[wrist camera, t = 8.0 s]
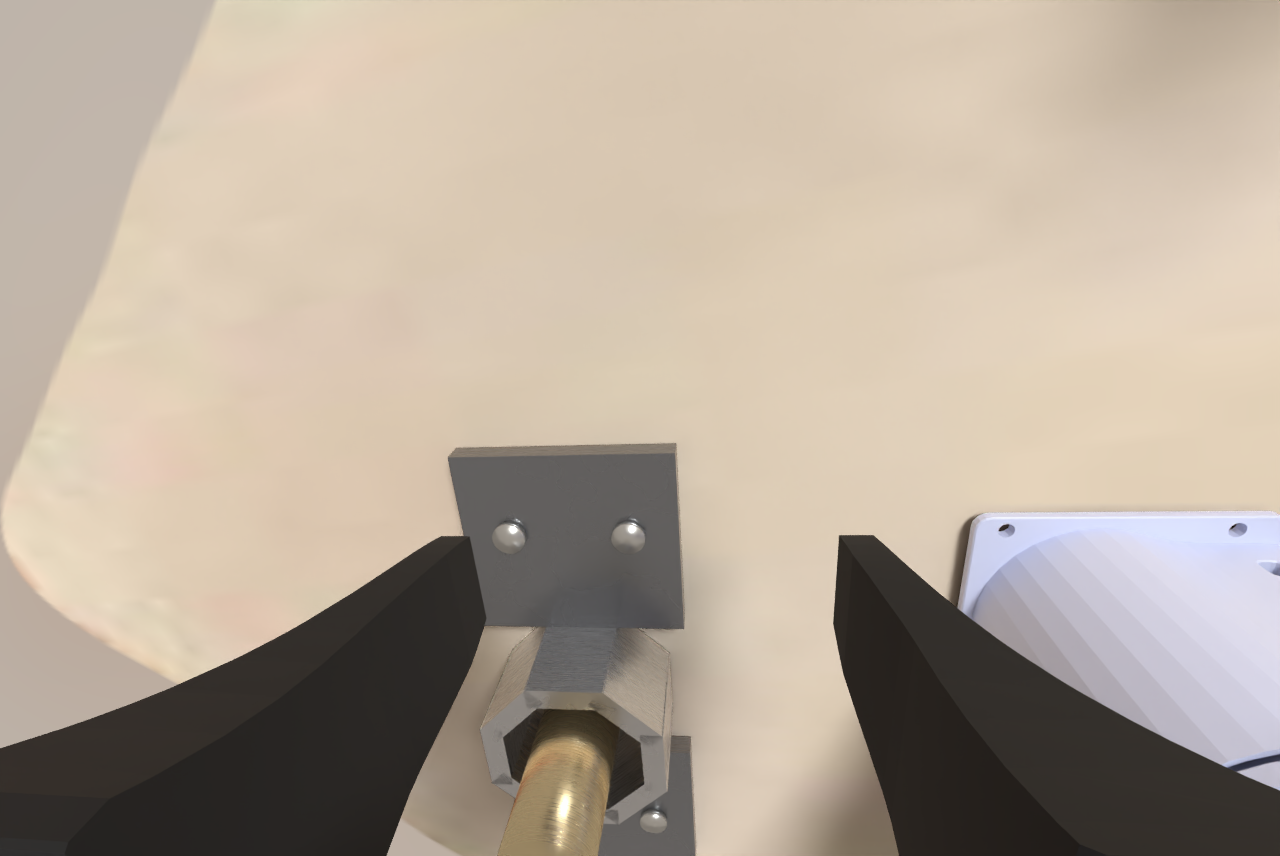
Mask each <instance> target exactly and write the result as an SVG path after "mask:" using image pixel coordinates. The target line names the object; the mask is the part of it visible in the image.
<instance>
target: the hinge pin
mask: <svg viewBox="0 0 1280 856" xmlns="http://www.w3.org/2000/svg"><path fill="white" fill-rule="evenodd" d="M619 729H620V728H619V727H618V726H616V725H615V724H614V723H612V722H611V721H609V720H608V719H607V718H605V717H604V716H602V715H601V714H600V713H598V712H597V711H596V710H568V709H544V711H543V714H542V717H541V720H540V723H539V726H538V729H537V733H536V736H535V739H534V742H533V745H532V748H531V751H530V754H529V758H528V761H527V764H526V767H525V770H524V773H523V776H522V780H521V783H520V786H519V789H518V792H517V795H516V798H515V801H514V805H513V808H512V811H511V814H510V817H509V820H508V823H507V827H506V830H505V833H504V836H503V839H502V842H501V845H500V848H499V852H498V855H497V856H598V852H599V846H600V840H601V834H602V828H603V822H604V816H605V811H606V805H607V799H608V793H609V787H610V781H611V776H612V770H613V764H614V758H615V752H616V746H617V740H618V735H619Z"/></svg>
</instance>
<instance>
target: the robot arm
mask: <svg viewBox="0 0 1280 856" xmlns="http://www.w3.org/2000/svg"><path fill="white" fill-rule="evenodd" d="M1005 524H1010V525H1009V527H1008V528H1007V529H1006V530H1004V531H998V530H999V528H1000V527H1001V526H1003V525H1005ZM1235 524H1236V526H1235V527H1234V528H1232V529H1231V530H1229V529H1230V528H1231V526H1233V525H1235ZM486 619H487V618H486V613H485V608H484V603H483V599H482V594H481V589H480V584H479V579H478V574H477V569H476V565H475V560H474V555H473V550H472V545H471V540H470V536H441V537H439V538H437V539H435V540H433V541H432V542H430V543H428V544H427V545H425V546H423V547H422V548H420V549H419V550H417V551H415V552H414V553H412V554H411V555H409V556H408V557H406V558H405V559H403V560H402V561H400V562H399V563H397V564H396V565H394V566H393V567H391V568H390V569H388V570H387V571H385V572H384V573H382V574H381V575H379V576H378V577H376V578H375V579H373V580H372V581H370V582H369V583H367V584H365V585H364V586H362V587H361V588H359V589H358V590H356V591H355V592H353V593H352V594H350V595H348V596H347V597H345V598H343V599H342V600H340V601H339V602H337V603H335V604H334V605H332V606H330V607H329V608H327V609H325V610H324V611H322V612H321V613H319V614H317V615H316V616H314V617H312V618H311V619H309V620H308V621H306V622H304V623H302V624H301V625H299V626H297V627H295V628H294V629H292V630H290V631H288V632H286V633H285V634H283V635H281V636H279V637H277V638H275V639H274V640H272V641H270V642H268V643H266V644H264V645H262V646H260V647H258V648H256V649H254V650H252V651H250V652H248V653H246V654H244V655H242V656H240V657H238V658H236V659H234V660H232V661H230V662H228V663H225V664H223V665H221V666H219V667H217V668H214V669H212V670H210V671H208V672H205V673H203V674H201V675H199V676H196V677H194V678H192V679H190V680H188V681H185V682H183V683H181V684H179V685H176V686H174V687H172V688H170V689H167V690H165V691H162V692H160V693H157V694H155V695H152V696H150V697H148V698H145V699H142V700H140V701H137V702H135V703H132V704H130V705H127V706H124V707H122V708H119V709H116V710H113V711H111V712H108V713H105V714H103V715H100V716H97V717H94V718H92V719H89V720H86V721H84V722H81V723H77V724H75V725H72V726H69V727H66V728H63V729H60V730H57V731H53V732H50V733H48V734H44V735H41V736H38V737H35V738H32V739H28V740H25V741H22V742H19V743H16V744H13V745H10V746H7V747H3V748H0V856H386V855H387V853H388V850H389V847H390V845H391V842H392V839H393V837H394V834H395V831H396V828H397V826H398V823H399V821H400V818H401V815H402V813H403V810H404V807H405V805H406V802H407V799H408V797H409V794H410V792H411V790H412V788H413V785H414V783H415V781H416V779H417V776H418V774H419V772H420V770H421V768H422V766H423V763H424V761H425V759H426V757H427V755H428V753H429V751H430V749H431V747H432V745H433V743H434V741H435V739H436V737H437V735H438V733H439V731H440V729H441V727H442V725H443V723H444V721H445V719H446V717H447V715H448V713H449V711H450V709H451V706H452V704H453V702H454V700H455V698H456V696H457V694H458V692H459V690H460V688H461V686H462V684H463V682H464V679H465V677H466V675H467V673H468V671H469V669H470V667H471V664H472V662H473V659H474V656H475V653H476V650H477V647H478V644H479V641H480V638H481V635H482V632H483V628H484V625H485V622H486ZM833 624H834V630H835V635H836V640H837V645H838V650H839V655H840V660H841V665H842V669H843V674H844V677H845V680H846V683H847V686H848V690H849V693H850V696H851V699H852V702H853V705H854V708H855V711H856V714H857V717H858V720H859V723H860V726H861V729H862V732H863V735H864V738H865V741H866V744H867V746H868V749H869V752H870V755H871V758H872V761H873V764H874V767H875V770H876V773H877V776H878V779H879V782H880V785H881V788H882V791H883V794H884V798H885V801H886V805H887V808H888V812H889V815H890V818H891V822H892V826H893V831H894V835H895V839H896V843H897V848H898V852H899V856H1280V515H1279V514H1277V513H1276V512H1272V511H1171V512H1016V513H984V514H981V515H979V516H977V517H976V518H975V519H974V520H973V521H972V524H971V528H970V534H969V540H968V546H967V552H966V558H965V564H964V571H963V577H962V583H961V589H960V595H959V601H958V607H955V606H954V605H953V604H952V603H950V602H949V601H948V600H947V599H945V598H944V597H943V596H942V595H941V594H939V593H938V592H937V591H936V590H935V589H933V588H932V587H931V586H930V585H929V584H928V583H926V582H925V581H924V580H923V579H922V578H921V577H920V576H918V575H917V574H916V573H915V572H914V571H913V570H912V569H911V568H909V567H908V566H907V565H906V564H905V563H904V562H903V561H902V560H900V559H899V558H898V557H897V556H896V555H895V554H894V553H893V552H892V551H891V550H889V549H888V548H887V547H886V546H885V545H884V544H883V543H882V542H881V541H879V540H878V539H877V538H876V537H875V536H874V535H839V547H838V562H837V577H836V591H835V606H834V621H833Z"/></svg>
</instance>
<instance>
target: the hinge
mask: <svg viewBox="0 0 1280 856" xmlns="http://www.w3.org/2000/svg"><path fill="white" fill-rule="evenodd" d="M448 462H449V467H450V471H451V476H452V481H453V486H454V490H455V495H456V500H457V505H458V510H459V514H460V519H461V524H462V529H463V533H464V536H470V540H471V545H472V550H473V555H474V560H475V565H476V569H477V574H478V579H479V584H480V589H481V594H482V599H483V603H484V608H485V613H486V618H487V619H486V622H485V625H484V626H534V627H537V628H536V629H534V630H533V631H532V632H531V633H530V634H529V635H528V636H527V637H526V638H525V639H524V640H523V641H522V642H521V643H519V644H518V645H517V646H516V647H515V648H514V649H513V650H512V652H511V655H510V657H509V659H508V662H507V664H506V667H505V669H504V672H503V674H502V676H501V679H500V681H499V684H498V686H497V689H496V691H495V694H494V696H493V698H492V701H491V703H490V706H489V708H488V711H487V713H486V715H485V718H484V720H483V723H482V725H481V728H480V732H481V737H482V741H483V745H484V750H485V754H486V758H487V763H488V767H489V771H490V776H491V780H492V784H494V785H496V786H497V787H499V788H500V789H502V790H503V791H505V792H506V793H508V794H509V795H511V796H512V797H514V798H516V795H517V792H518V789H519V786H520V783H521V780H522V776H523V773H524V770H525V767H526V764H527V761H528V758H529V754H530V751H531V748H532V745H533V742H534V739H535V736H536V733H537V729H538V726H539V723H540V720H541V717H542V714H543V711H544V709H568V710H596V711H597V712H598V713H600V714H601V715H602V716H604V717H605V718H607V719H608V720H609V721H611V722H612V723H614V724H615V725H616V726H618V727H619V728H620V729H619V735H618V740H617V746H616V752H615V758H614V764H613V770H612V776H611V781H610V787H609V793H608V799H607V805H606V811H605V816H604V822H603V828H602V834H601V840H600V846H599V852H598V856H696V834H695V814H694V794H693V773H692V753H691V737H682V736H671V728H672V712H673V702H672V686H671V670H670V653H669V652H668V651H666V650H665V649H664V648H662V647H661V646H660V645H658V644H657V643H656V642H655V641H653V640H652V639H651V638H649V637H648V636H647V635H645V634H644V633H643V632H642V631H640V630H639V629H638V628H656V629H684V620H685V610H684V590H683V569H682V549H681V529H680V508H679V488H678V467H677V447H676V443H675V444H626V445H578V446H530V447H482V448H456V449H455V450H454V451H453V452H452V453H451V454H450V455H449V456H448Z"/></svg>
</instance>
